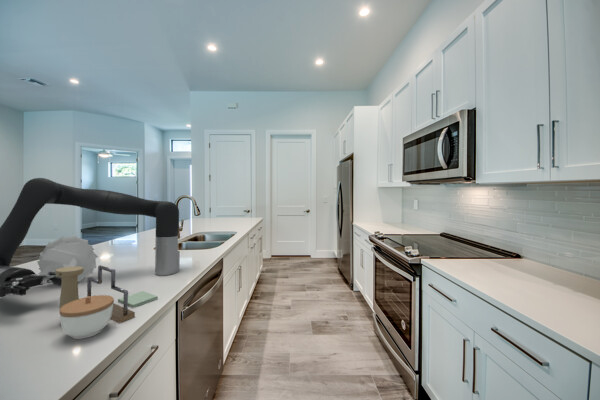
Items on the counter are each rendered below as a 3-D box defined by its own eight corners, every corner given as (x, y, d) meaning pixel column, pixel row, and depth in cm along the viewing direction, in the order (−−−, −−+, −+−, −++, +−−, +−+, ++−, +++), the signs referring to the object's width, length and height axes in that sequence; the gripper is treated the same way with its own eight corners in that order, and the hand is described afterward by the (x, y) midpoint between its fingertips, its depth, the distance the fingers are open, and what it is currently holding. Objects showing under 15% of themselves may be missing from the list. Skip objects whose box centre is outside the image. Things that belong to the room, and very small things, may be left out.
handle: (69, 327, 66) (70, 272, 66) (49, 324, 67) (50, 270, 67) (87, 318, 71) (88, 267, 71) (68, 316, 72) (69, 265, 72)
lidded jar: (93, 344, 59) (94, 305, 59) (46, 345, 58) (46, 306, 58) (122, 321, 70) (122, 289, 70) (82, 322, 69) (82, 289, 69)
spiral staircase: (79, 278, 115) (84, 291, 97) (28, 269, 103) (24, 281, 86) (100, 241, 121) (109, 247, 103) (55, 228, 109) (56, 232, 92)
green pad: (142, 293, 89) (142, 291, 89) (157, 299, 85) (157, 296, 85) (118, 301, 82) (118, 298, 82) (133, 308, 78) (133, 304, 78)
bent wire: (94, 299, 84) (95, 260, 83) (134, 317, 72) (135, 271, 72) (80, 304, 80) (80, 263, 80) (119, 323, 69) (120, 275, 69)
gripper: (-23, 274, 70) (10, 281, 66) (41, 262, 84) (73, 267, 79) (-24, 300, 71) (9, 309, 66) (41, 283, 84) (72, 290, 79)
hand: (44, 286), depth 72 cm, fingers open, 8 cm apart
